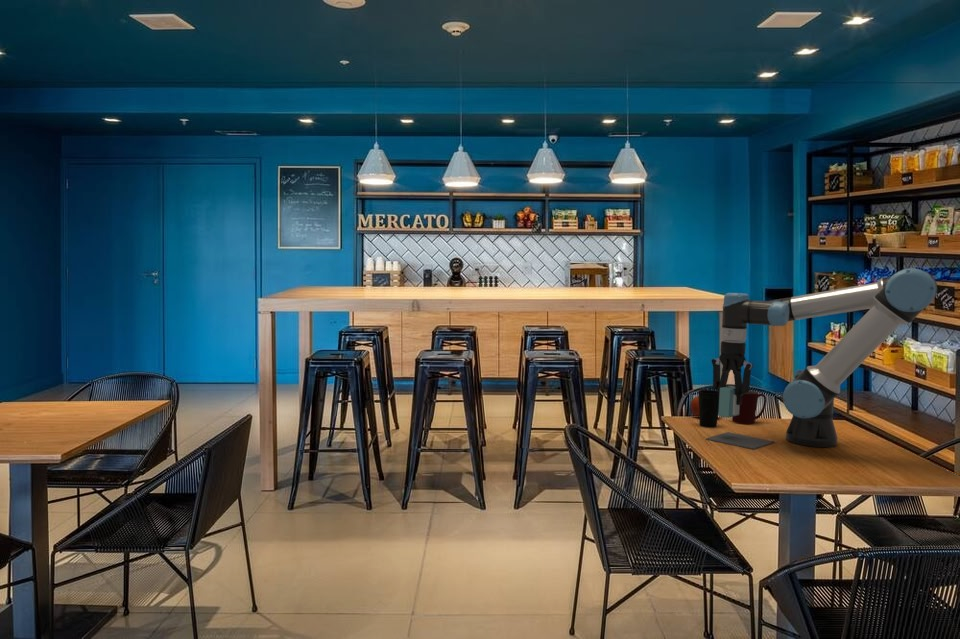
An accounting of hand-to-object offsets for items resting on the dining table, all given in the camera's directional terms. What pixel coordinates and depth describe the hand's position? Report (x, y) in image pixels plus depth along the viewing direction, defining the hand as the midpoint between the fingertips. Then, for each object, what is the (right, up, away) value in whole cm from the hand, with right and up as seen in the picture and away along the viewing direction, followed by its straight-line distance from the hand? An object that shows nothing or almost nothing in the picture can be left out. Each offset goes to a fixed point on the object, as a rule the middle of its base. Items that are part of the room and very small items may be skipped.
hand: (729, 413), depth 236 cm
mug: (+16, -7, +26) cm, 31 cm away
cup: (-1, -7, +19) cm, 20 cm away
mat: (+3, -9, -2) cm, 9 cm away
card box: (0, -1, 0) cm, 1 cm away
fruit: (+2, -6, +33) cm, 34 cm away
